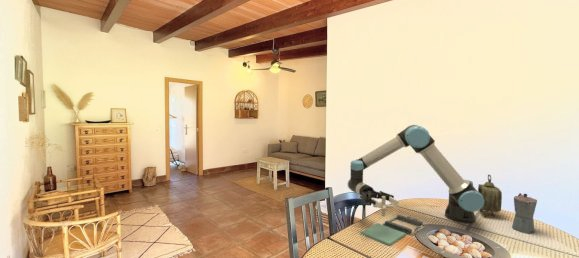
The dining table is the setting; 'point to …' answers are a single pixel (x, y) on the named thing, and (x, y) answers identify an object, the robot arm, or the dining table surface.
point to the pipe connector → (384, 206)
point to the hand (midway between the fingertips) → (389, 204)
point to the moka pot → (524, 213)
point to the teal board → (383, 234)
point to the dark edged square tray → (402, 228)
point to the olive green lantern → (490, 197)
